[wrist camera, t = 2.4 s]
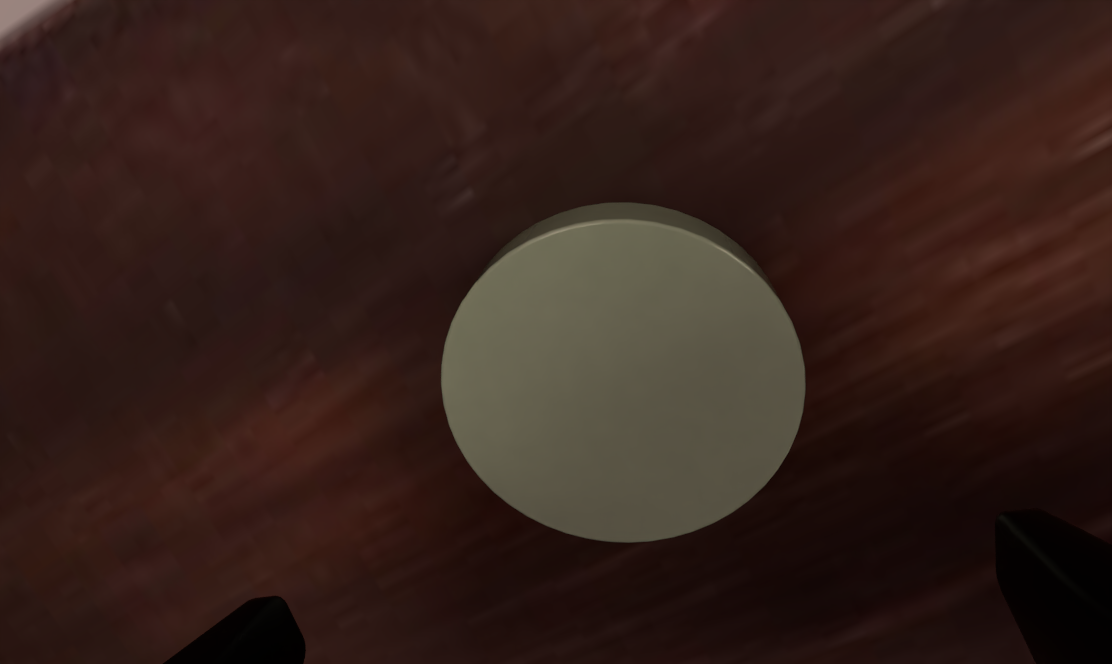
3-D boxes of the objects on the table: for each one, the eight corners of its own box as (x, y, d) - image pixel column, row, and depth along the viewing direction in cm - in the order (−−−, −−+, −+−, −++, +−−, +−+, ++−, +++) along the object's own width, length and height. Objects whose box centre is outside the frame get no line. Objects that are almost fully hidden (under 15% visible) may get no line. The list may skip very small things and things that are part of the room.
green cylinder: (761, 157, 13) (782, 179, 11) (800, 459, 15) (824, 522, 13) (426, 231, 14) (391, 263, 12) (512, 498, 17) (494, 561, 15)
